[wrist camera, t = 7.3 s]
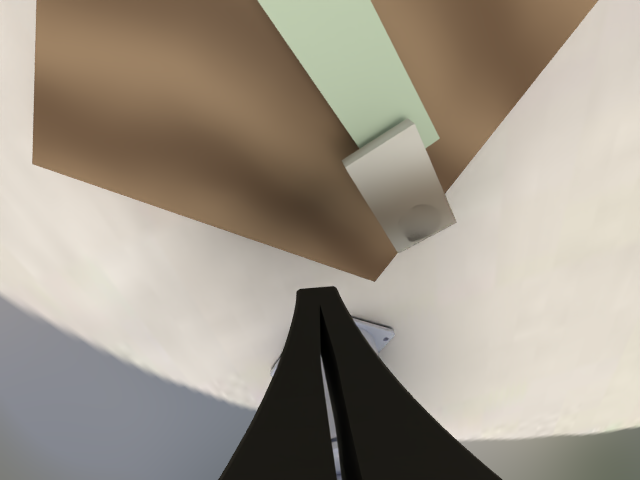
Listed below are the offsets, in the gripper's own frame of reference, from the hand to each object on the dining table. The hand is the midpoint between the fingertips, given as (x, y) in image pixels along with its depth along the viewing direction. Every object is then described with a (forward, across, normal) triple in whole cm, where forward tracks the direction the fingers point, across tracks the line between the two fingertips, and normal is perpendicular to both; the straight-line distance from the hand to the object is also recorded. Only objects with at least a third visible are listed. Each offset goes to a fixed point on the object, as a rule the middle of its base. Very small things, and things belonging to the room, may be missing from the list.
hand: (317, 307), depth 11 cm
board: (+9, 0, -6) cm, 11 cm away
